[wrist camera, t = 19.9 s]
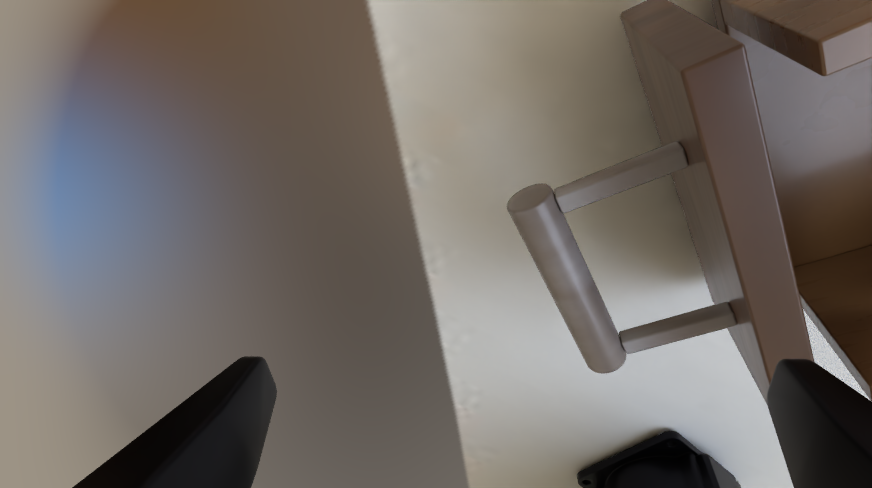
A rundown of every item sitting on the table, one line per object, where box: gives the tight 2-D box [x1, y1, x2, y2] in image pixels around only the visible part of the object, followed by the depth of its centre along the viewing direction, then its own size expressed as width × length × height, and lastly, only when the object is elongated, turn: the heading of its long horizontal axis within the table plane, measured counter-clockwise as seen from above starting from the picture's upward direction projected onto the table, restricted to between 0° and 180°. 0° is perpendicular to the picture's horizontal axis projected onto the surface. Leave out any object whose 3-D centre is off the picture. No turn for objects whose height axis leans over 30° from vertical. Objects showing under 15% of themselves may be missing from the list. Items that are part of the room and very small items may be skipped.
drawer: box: [507, 0, 872, 405], centre depth 14 cm, size 17×12×7 cm
